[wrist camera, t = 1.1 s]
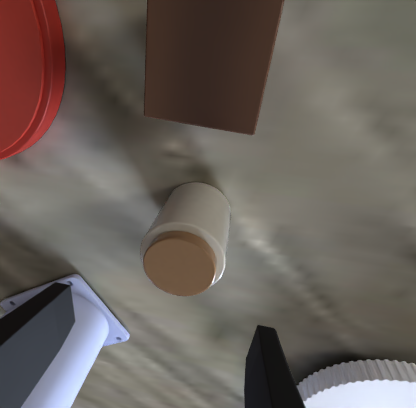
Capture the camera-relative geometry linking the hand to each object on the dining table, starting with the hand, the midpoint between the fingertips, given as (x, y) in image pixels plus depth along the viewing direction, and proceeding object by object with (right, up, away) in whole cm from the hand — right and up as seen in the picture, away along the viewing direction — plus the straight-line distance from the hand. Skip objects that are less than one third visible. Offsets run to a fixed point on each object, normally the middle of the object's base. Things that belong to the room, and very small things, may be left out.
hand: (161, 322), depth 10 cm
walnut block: (+2, +12, +3) cm, 13 cm away
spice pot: (+1, +4, +8) cm, 9 cm away
